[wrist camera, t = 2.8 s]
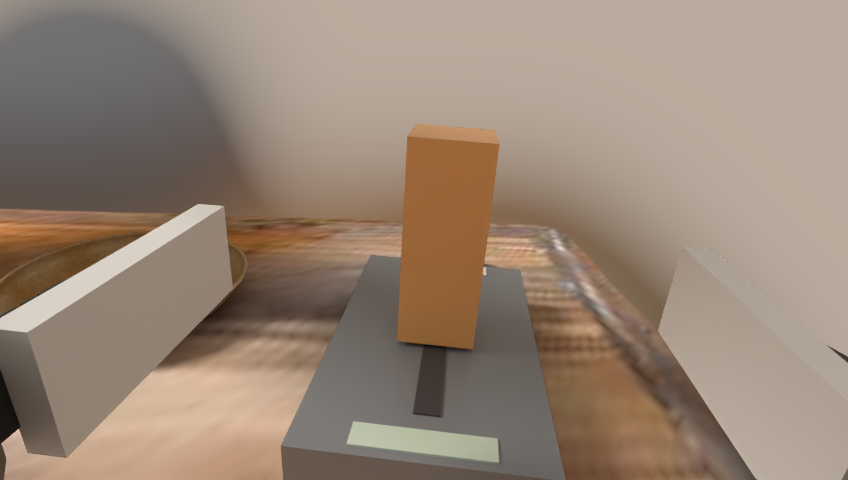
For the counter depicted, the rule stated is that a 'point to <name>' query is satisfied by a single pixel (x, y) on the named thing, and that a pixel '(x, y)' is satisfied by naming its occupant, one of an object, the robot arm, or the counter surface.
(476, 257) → the breaker handle
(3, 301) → the plant saucer
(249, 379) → the counter surface
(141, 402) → the counter surface
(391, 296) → the switch box
